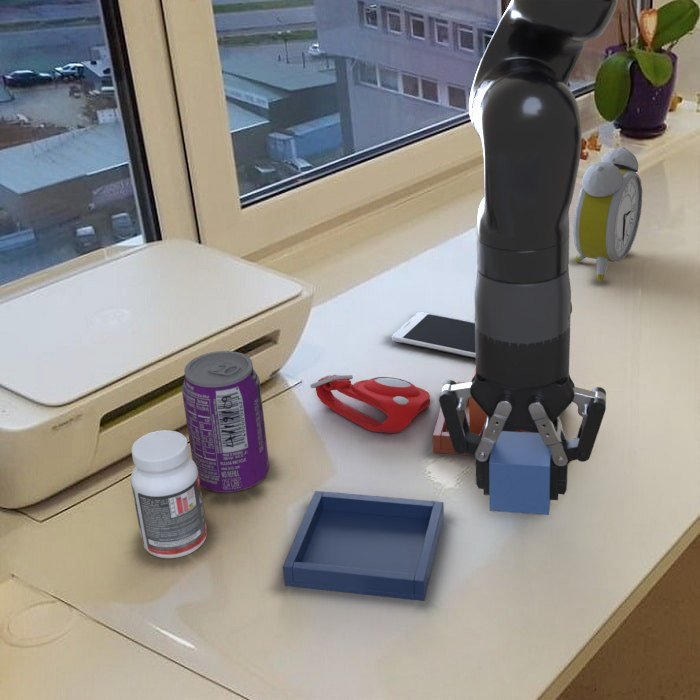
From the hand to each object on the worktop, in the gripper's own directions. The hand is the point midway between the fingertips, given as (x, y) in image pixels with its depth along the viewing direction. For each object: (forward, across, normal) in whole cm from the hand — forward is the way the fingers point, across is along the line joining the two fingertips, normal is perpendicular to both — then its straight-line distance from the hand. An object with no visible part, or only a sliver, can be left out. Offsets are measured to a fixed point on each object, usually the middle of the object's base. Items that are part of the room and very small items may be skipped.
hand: (521, 491), depth 93 cm
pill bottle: (+2, -30, -8) cm, 31 cm away
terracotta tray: (+3, -3, +14) cm, 15 cm away
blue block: (0, 0, 0) cm, 0 cm away
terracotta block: (+2, -4, +14) cm, 15 cm away
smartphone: (+2, -9, +32) cm, 34 cm away
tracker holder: (+2, -16, +16) cm, 23 cm away
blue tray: (+2, -12, -7) cm, 14 cm away
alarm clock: (+3, +6, +55) cm, 55 cm away
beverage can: (+2, -27, +2) cm, 28 cm away
